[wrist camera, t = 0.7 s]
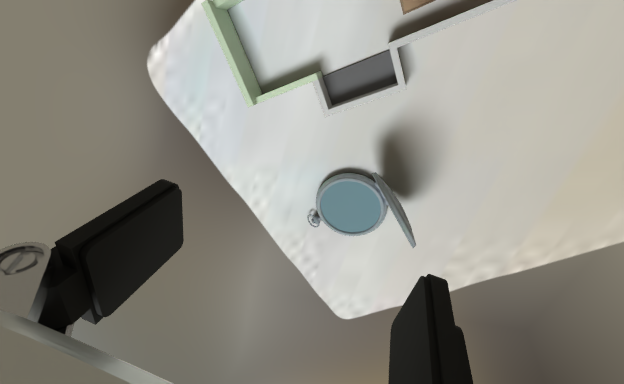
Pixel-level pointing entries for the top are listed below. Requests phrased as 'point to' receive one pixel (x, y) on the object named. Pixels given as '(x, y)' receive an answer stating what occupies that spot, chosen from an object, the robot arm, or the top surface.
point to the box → (338, 85)
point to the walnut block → (413, 4)
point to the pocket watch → (358, 205)
